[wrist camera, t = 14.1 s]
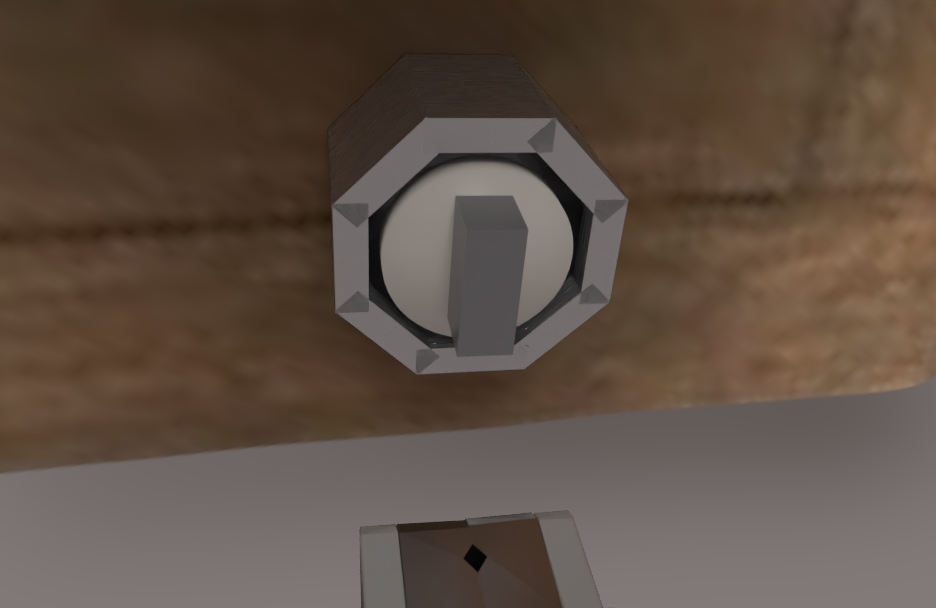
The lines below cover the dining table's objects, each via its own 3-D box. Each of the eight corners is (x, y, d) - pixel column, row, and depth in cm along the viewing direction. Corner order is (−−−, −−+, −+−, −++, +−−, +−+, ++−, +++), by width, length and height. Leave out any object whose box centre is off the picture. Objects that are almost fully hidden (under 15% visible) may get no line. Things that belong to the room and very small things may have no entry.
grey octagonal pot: (325, 51, 32) (328, 116, 26) (587, 55, 34) (644, 117, 28) (332, 283, 37) (336, 379, 32) (556, 276, 39) (598, 366, 33)
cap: (380, 154, 28) (388, 201, 25) (577, 155, 29) (608, 200, 26) (377, 323, 32) (384, 382, 29) (552, 317, 33) (576, 374, 30)
